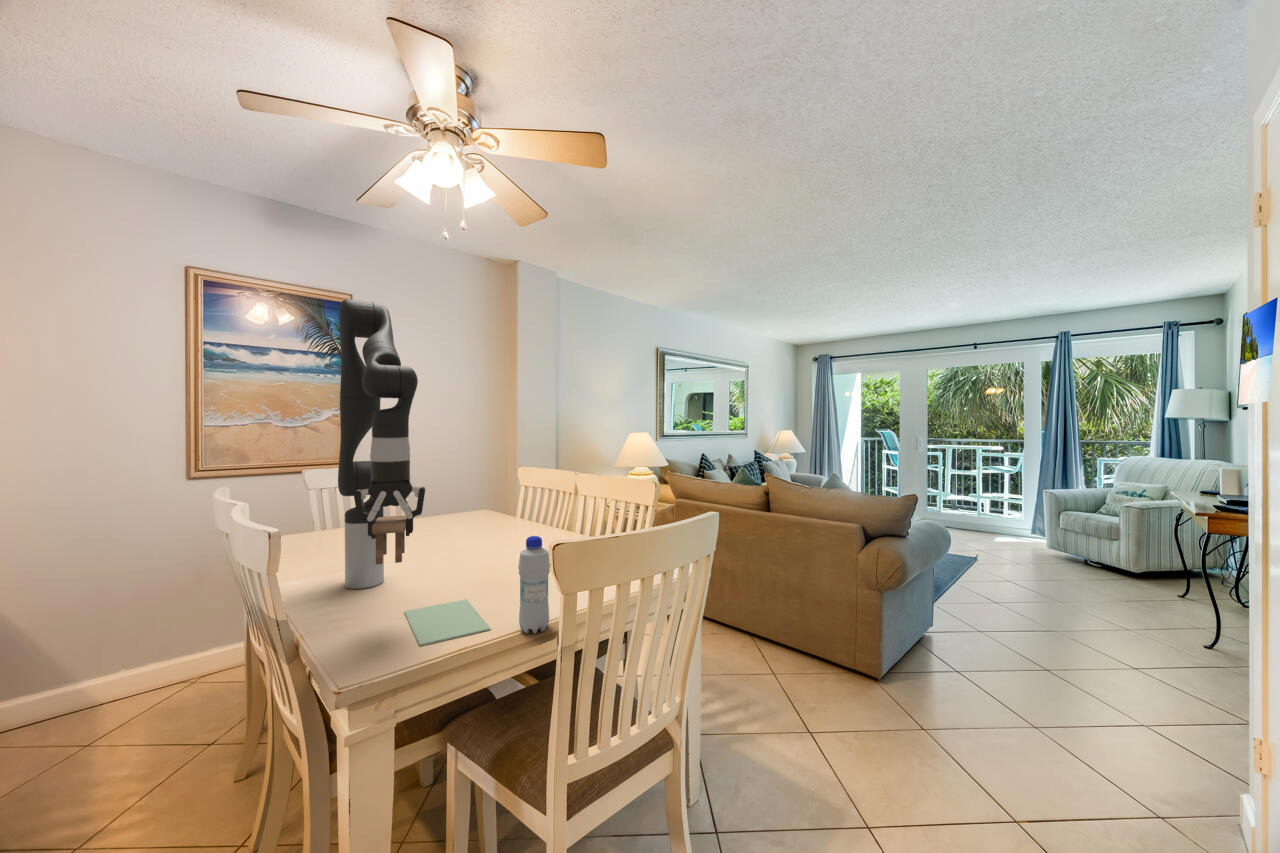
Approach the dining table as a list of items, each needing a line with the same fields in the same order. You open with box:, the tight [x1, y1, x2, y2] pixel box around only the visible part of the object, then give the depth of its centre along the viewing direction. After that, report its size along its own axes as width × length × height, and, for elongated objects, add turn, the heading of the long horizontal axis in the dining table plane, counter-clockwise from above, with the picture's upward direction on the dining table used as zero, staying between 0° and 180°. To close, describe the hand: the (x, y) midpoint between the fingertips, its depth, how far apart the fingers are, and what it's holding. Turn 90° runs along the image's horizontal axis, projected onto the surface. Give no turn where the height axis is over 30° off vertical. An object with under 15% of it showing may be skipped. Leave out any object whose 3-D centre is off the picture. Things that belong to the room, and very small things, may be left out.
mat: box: [403, 599, 491, 647], centre depth 110 cm, size 20×14×1 cm
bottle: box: [517, 535, 551, 634], centre depth 106 cm, size 7×7×20 cm
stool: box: [372, 515, 407, 565], centre depth 106 cm, size 10×6×8 cm, turn 22°
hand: (390, 536), depth 106 cm, fingers closed on stool, 6 cm apart
